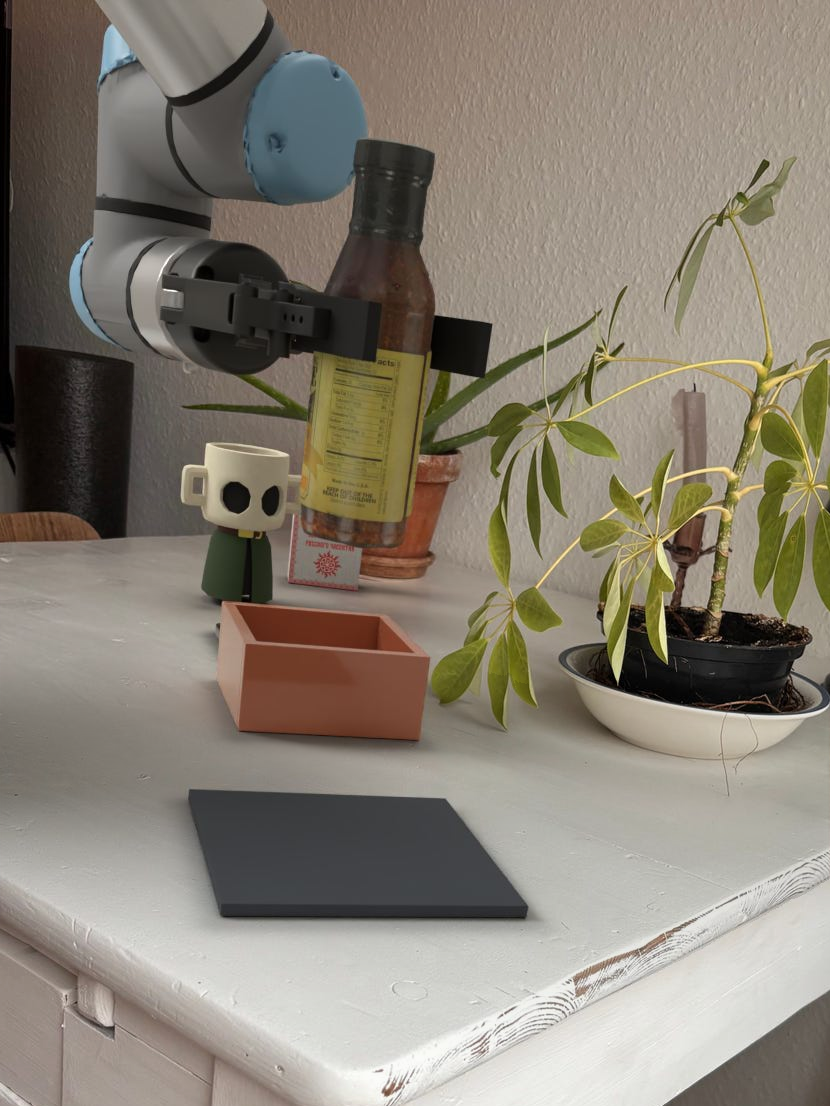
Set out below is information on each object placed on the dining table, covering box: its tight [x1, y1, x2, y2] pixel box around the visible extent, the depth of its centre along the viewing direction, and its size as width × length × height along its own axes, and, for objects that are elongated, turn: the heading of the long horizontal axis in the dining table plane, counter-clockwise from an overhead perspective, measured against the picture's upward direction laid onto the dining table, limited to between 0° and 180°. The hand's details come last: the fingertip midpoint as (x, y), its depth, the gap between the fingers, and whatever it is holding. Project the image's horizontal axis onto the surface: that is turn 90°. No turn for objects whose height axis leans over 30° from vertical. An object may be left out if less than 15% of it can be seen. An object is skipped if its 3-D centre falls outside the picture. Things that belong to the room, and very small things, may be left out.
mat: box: [188, 788, 529, 918], centre depth 63 cm, size 14×14×1 cm
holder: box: [215, 600, 431, 741], centre depth 85 cm, size 12×12×6 cm
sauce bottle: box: [300, 136, 437, 550], centre depth 69 cm, size 6×6×20 cm
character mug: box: [180, 442, 302, 604], centre depth 111 cm, size 11×7×13 cm, turn 115°
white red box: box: [287, 474, 363, 592], centre depth 125 cm, size 4×7×10 cm, turn 99°
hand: (429, 341), depth 65 cm, fingers closed on sauce bottle, 6 cm apart
